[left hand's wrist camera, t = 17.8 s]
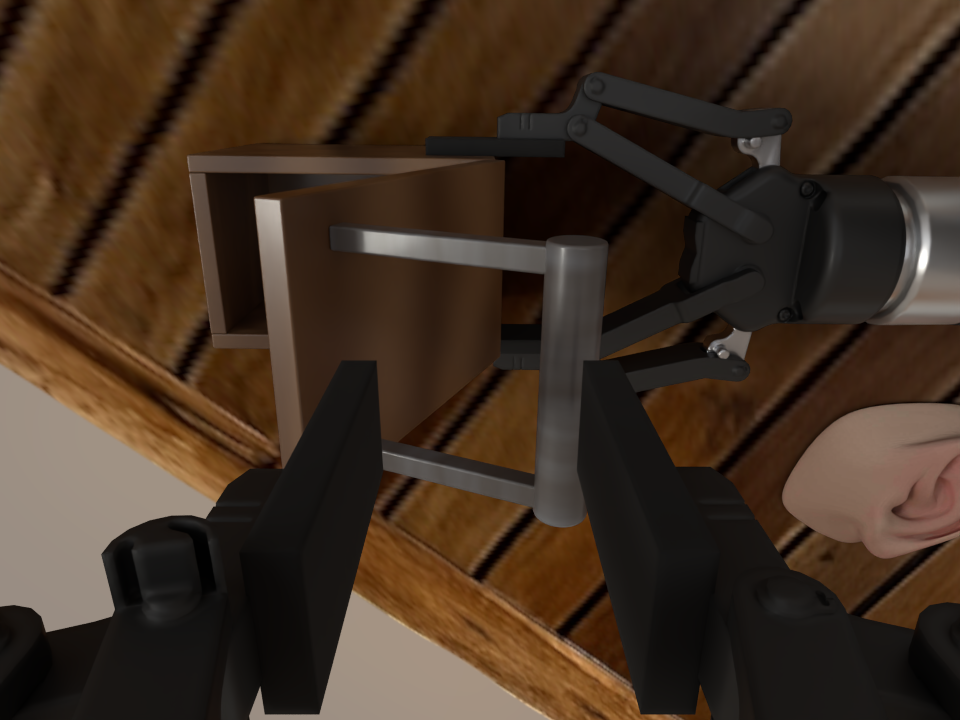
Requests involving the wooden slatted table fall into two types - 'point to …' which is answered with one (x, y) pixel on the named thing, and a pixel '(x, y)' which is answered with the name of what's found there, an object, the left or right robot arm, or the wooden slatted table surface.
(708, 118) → the right robot arm
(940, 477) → the anatomical model
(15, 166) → the wooden slatted table surface
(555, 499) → the lid
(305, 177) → the chest
